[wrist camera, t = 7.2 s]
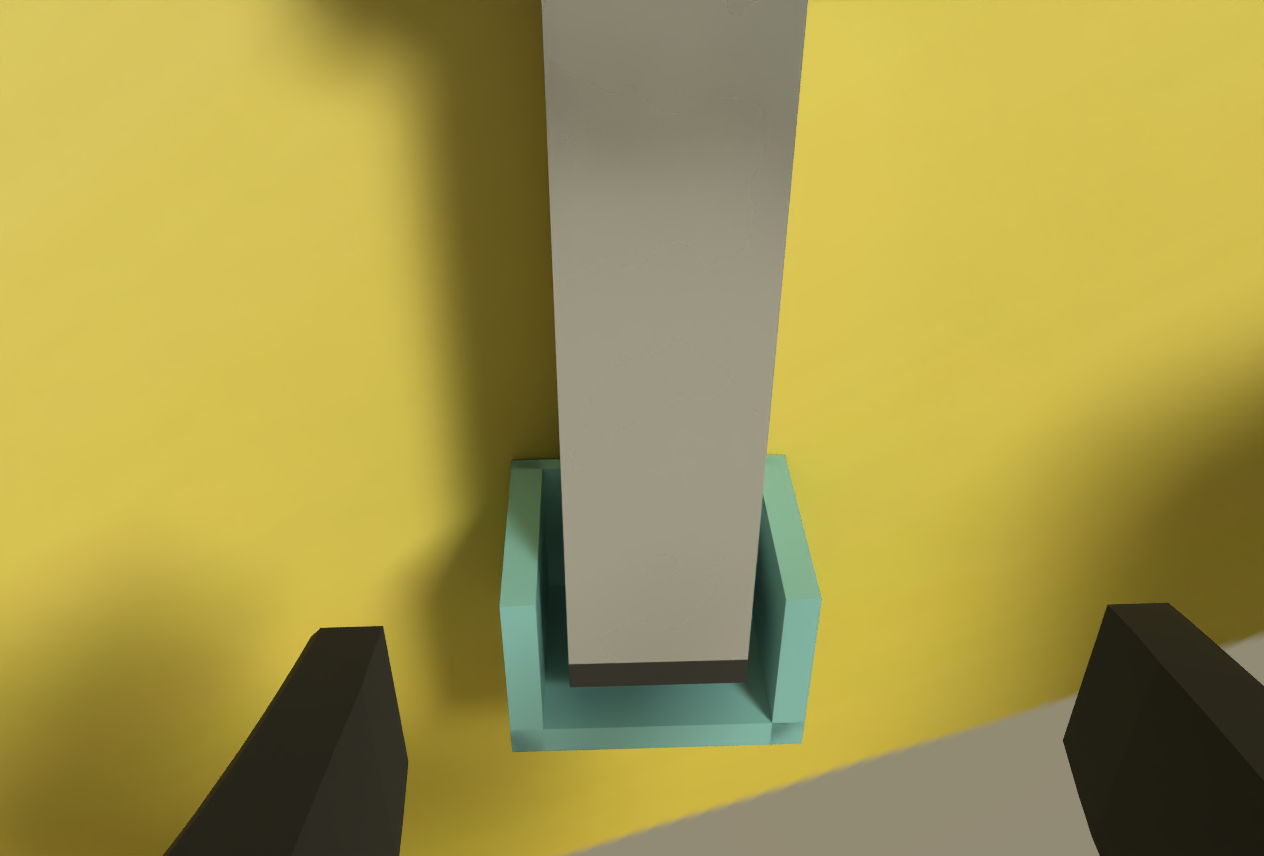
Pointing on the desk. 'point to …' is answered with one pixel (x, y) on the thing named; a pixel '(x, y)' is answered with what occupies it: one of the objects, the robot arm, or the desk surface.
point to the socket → (652, 712)
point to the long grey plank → (666, 319)
